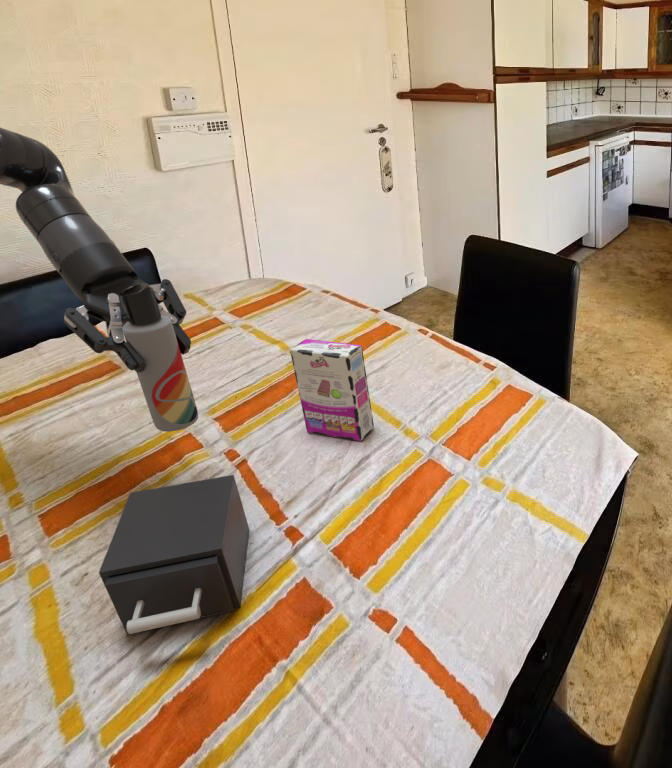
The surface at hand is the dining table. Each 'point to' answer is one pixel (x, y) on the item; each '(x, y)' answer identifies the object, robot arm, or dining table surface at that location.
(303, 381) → the candy bar box
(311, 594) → the dining table surface
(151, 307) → the lotion bottle
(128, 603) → the drawer
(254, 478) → the dining table surface
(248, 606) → the dining table surface
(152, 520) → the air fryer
